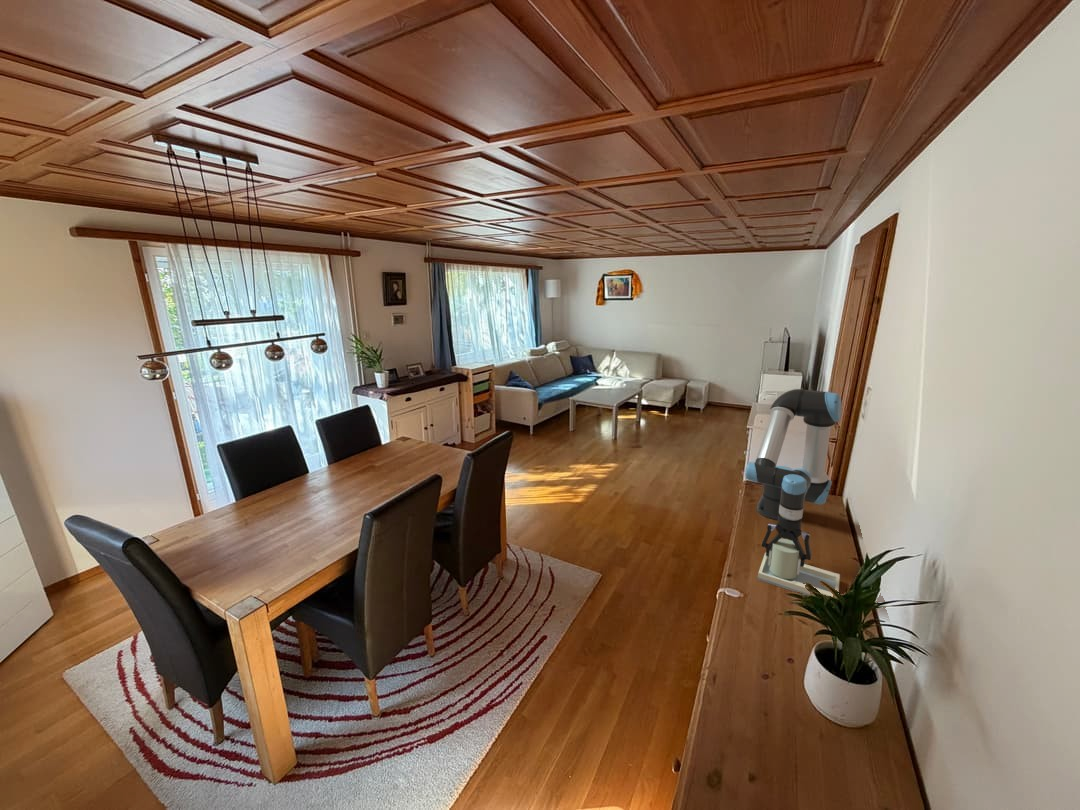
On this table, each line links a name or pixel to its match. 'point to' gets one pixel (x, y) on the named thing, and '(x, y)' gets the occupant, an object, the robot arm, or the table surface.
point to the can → (784, 559)
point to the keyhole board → (801, 579)
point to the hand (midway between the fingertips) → (783, 567)
